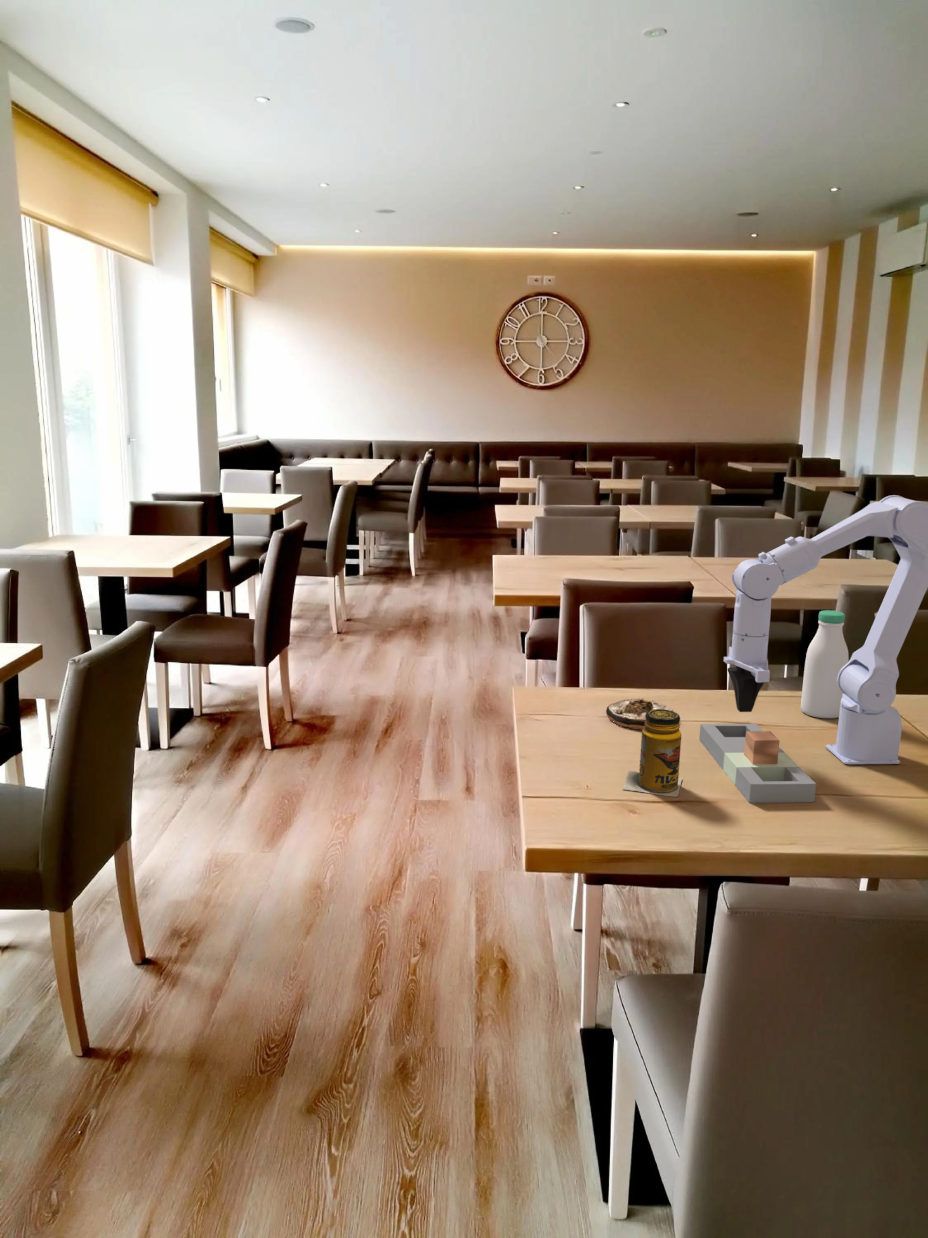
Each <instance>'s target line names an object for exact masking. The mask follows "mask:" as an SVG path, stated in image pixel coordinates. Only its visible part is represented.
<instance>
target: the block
mask: <svg viewBox="0 0 928 1238" xmlns="http://www.w3.org/2000/svg"><path fill="white" fill-rule="evenodd" d="M779 747H780V739H779V737H777V736H776V735H775V734H774V733H773V732H772V731H770V730H769V731H767V730H765V731H764V730H763V731H746V738H745V749H744V755H745V756H746V757H747V759H748V760H749V761H750V762H751V763H752V764H777V762H778V752H779Z"/></svg>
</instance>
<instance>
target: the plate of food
mask: <svg viewBox="0 0 928 1238" xmlns="http://www.w3.org/2000/svg"><path fill="white" fill-rule="evenodd" d="M654 709H666V710H671V711H674V710H673V709H671V707H667V705H665V704H663V703H660V702H657V701H654V700H651V701H650V700H646V699H644V698H643V697H642V698H630V699H629V698H627V699H623V700H618V701H615V702H612V703H611V704H609V705H608V706H607V707H606V709H605V713H606V715H607V717H608V719H609V720H610V722H612V721H614V723H615V724H616V726H617V725H618V727H620V726H622V727H621V728H624V729H627V728H629V729H630V730H636V731H642V730H643V728H644V727H645V720H646V718H645V715H646V713H647V712H648V711H650V710H654ZM614 723H613V724H614ZM615 724H614V725H615ZM629 729H628V730H629Z"/></svg>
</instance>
